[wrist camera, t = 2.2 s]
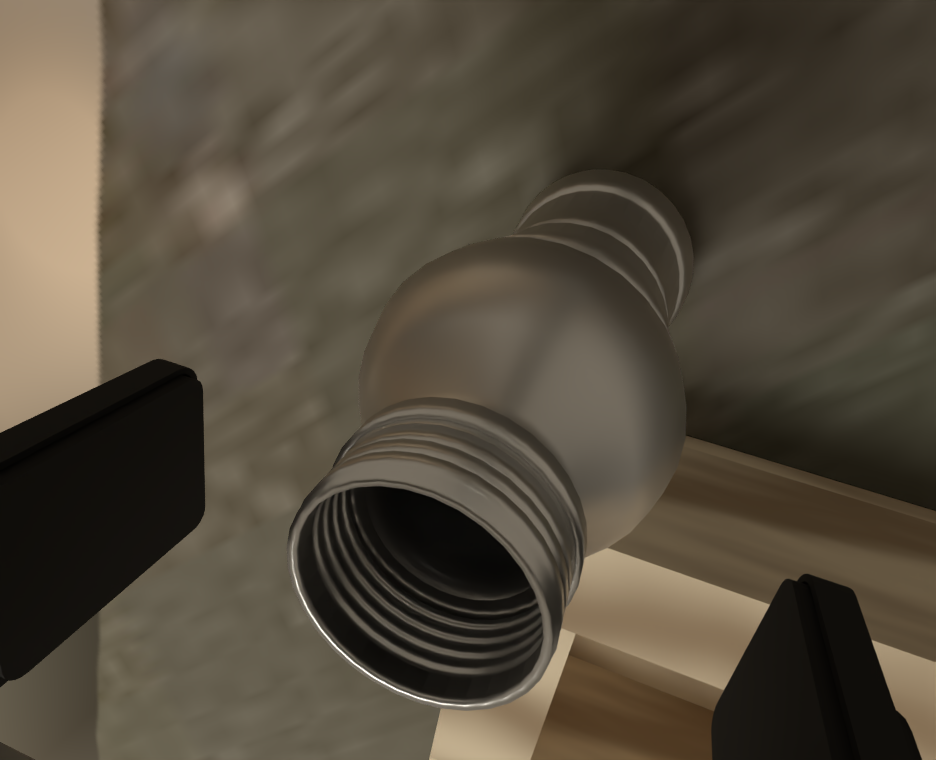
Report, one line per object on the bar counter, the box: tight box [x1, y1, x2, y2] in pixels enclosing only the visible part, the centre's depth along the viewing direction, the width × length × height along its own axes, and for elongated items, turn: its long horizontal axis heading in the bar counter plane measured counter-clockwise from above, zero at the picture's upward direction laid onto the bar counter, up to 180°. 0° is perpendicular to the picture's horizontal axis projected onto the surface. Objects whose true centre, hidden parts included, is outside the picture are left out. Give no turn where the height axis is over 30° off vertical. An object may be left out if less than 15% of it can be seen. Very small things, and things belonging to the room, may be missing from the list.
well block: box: [429, 436, 936, 760], centre depth 27 cm, size 18×18×9 cm
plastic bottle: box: [287, 169, 694, 711], centre depth 16 cm, size 6×7×20 cm
